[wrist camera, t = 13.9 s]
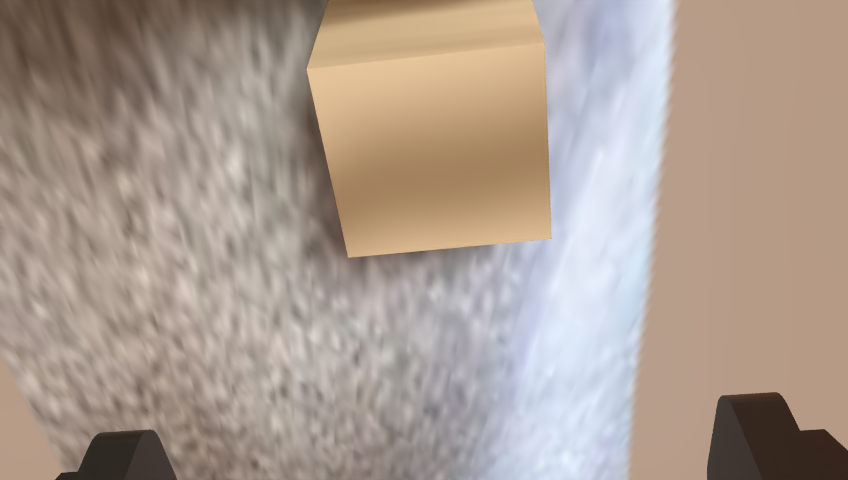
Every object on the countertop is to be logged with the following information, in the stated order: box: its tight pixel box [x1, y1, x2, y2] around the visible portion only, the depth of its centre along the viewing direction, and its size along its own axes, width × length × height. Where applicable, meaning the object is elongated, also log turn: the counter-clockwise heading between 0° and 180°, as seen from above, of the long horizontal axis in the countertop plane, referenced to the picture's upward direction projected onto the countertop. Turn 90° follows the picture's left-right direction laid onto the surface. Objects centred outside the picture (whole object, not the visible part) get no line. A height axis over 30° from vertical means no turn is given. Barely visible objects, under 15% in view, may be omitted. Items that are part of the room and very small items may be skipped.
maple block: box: [307, 0, 552, 258], centre depth 20 cm, size 5×5×5 cm
